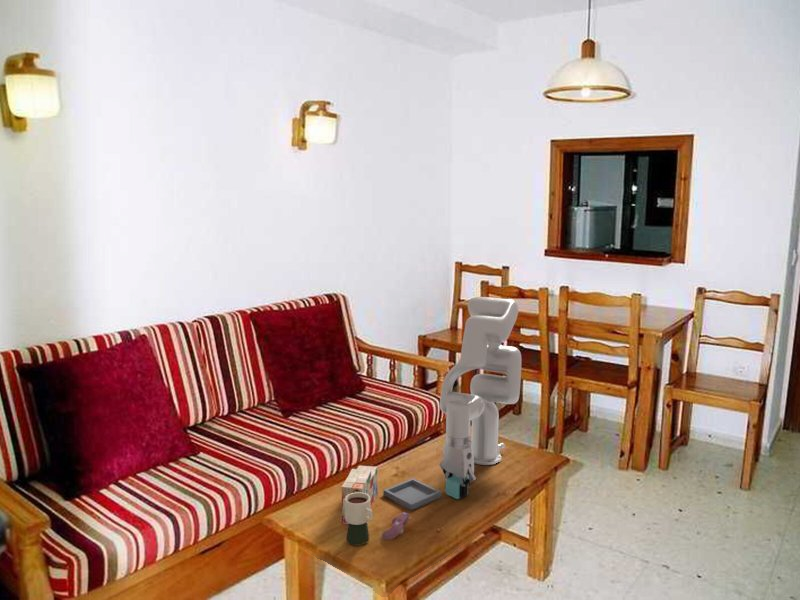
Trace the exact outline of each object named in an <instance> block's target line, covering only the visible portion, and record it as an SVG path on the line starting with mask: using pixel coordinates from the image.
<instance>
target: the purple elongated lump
mask: <svg viewBox="0 0 800 600" xmlns="http://www.w3.org/2000/svg"><path fill="white" fill-rule="evenodd" d="M410 518H411V514H410V513H408V512H406V511H403V512H400V514H398V515H396V516H395V517H394V518H392V520H391V522H392V525H391V526H390V528H388V529H387V530H386V529H385V531H383V532H382V534H381V538H382V539H383V540H385V541H388V540H392V539H394V538H397V537H398V536H399V534H401V535H402V534H403V533H404V529H405V526H406V524H407V523H408V522H409V520H410Z"/></svg>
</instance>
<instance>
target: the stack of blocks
mask: <svg viewBox="0 0 800 600" xmlns="http://www.w3.org/2000/svg"><path fill="white" fill-rule="evenodd" d="M356 492H361V493H366V494H368V495H369V496H370V503H371V505H372V506H373V504H372V503H374V502H375V500H376V498H377V495H378V467H377V466H372V465H371V466H370V465H357V468H351V470H350V471H349V474H348V476H347V477H346V479H345V481H344V482H343V483H342V485H341V525H342V524H343V526H348V524H349V523H348V522H346V520H345V509H344V508H343V500H344V498H345V497H346V496H347V495H348V494H351V493H356Z"/></svg>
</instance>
